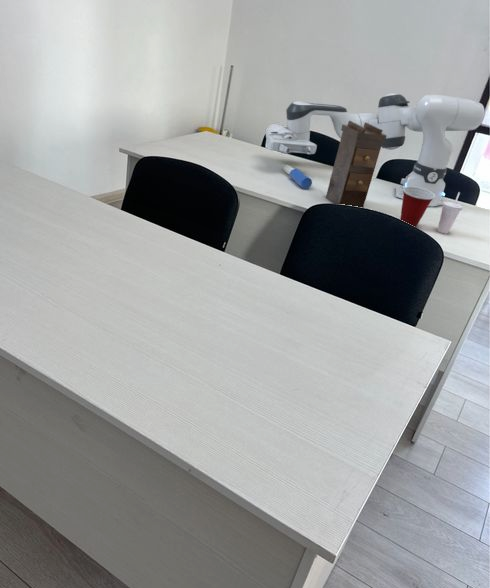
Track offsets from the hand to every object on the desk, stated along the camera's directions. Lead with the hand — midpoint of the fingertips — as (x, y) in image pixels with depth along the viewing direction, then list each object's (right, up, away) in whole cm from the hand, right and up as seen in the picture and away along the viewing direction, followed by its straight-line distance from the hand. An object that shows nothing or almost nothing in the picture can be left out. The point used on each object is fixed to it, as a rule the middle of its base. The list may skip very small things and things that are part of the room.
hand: (298, 151), depth 227 cm
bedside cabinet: (+15, -24, -13) cm, 31 cm away
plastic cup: (+34, -34, -25) cm, 54 cm away
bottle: (-1, -11, +3) cm, 11 cm away
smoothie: (+46, -37, -26) cm, 64 cm away
